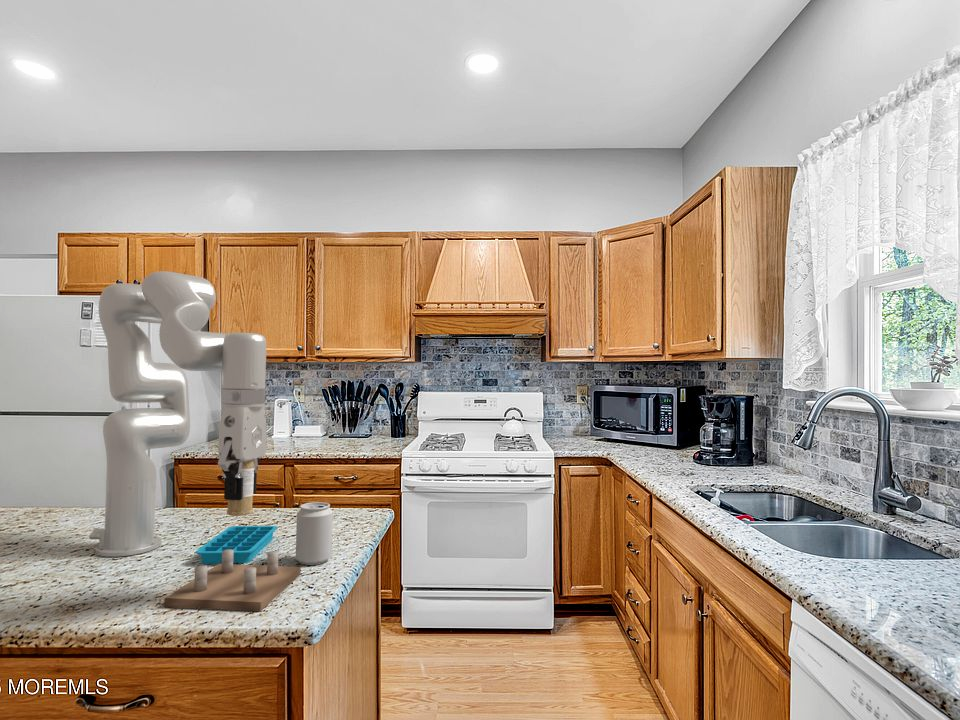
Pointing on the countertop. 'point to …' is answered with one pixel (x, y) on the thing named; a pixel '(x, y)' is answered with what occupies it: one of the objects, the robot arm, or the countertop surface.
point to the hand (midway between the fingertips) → (240, 495)
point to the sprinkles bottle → (248, 481)
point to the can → (314, 533)
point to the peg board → (234, 585)
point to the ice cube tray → (237, 544)
